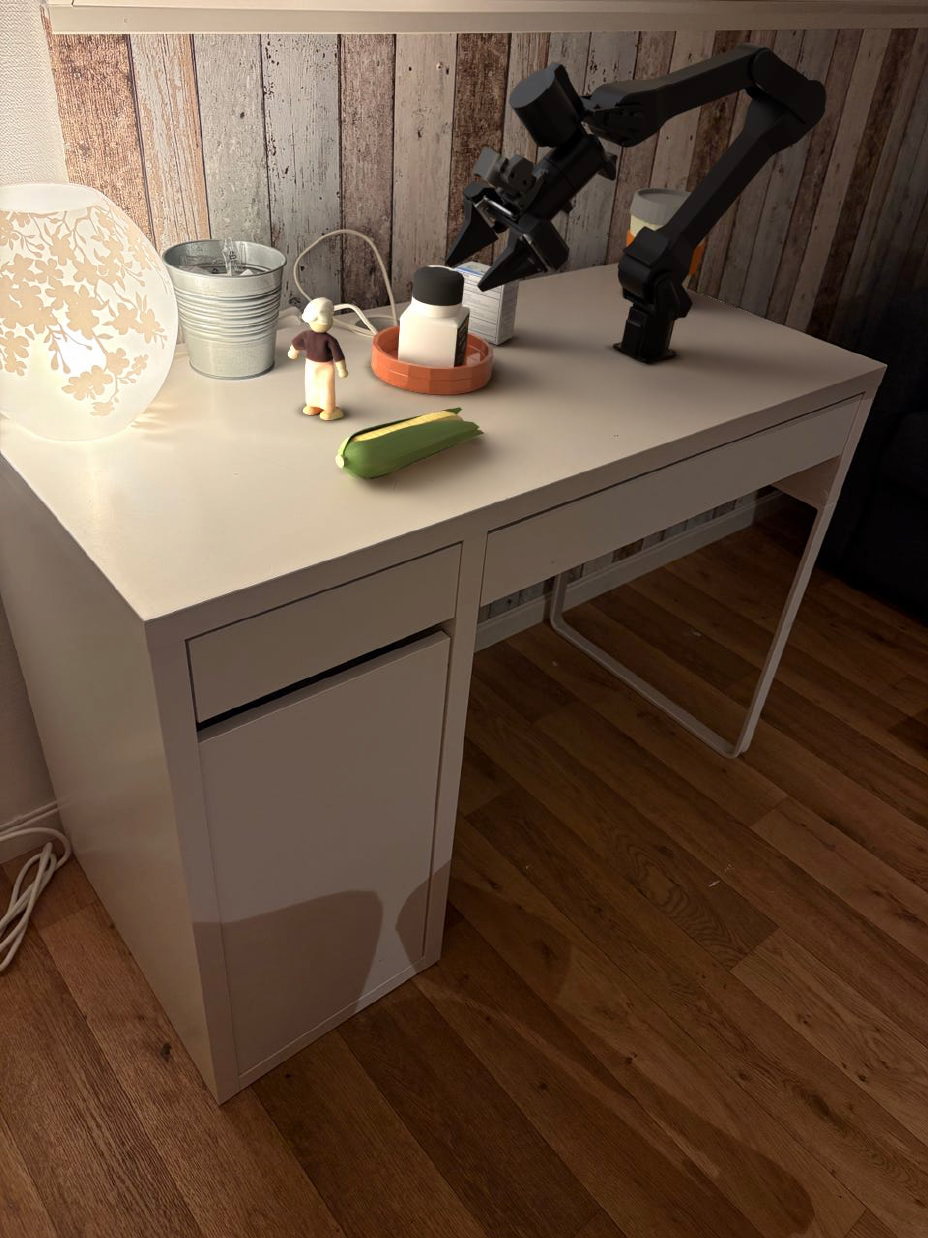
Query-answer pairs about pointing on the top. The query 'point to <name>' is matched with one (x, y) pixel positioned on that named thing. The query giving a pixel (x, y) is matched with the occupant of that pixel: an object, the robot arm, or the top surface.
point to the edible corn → (402, 443)
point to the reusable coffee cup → (659, 216)
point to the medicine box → (489, 305)
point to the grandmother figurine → (320, 359)
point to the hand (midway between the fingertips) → (462, 276)
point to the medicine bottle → (435, 319)
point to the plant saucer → (427, 377)
